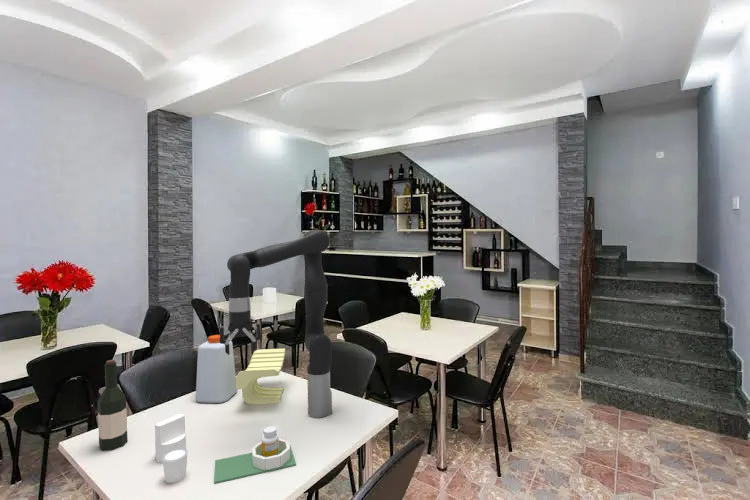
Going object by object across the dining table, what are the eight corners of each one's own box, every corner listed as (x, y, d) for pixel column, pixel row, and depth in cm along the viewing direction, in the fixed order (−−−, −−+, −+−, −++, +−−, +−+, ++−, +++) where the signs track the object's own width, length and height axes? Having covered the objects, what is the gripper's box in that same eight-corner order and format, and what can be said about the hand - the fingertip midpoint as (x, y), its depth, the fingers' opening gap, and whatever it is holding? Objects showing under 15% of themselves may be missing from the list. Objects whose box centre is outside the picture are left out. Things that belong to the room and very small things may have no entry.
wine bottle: (97, 453, 129) (93, 366, 128) (101, 442, 137) (98, 359, 136) (126, 447, 133) (123, 362, 132) (128, 436, 140) (126, 355, 139)
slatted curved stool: (252, 385, 187) (252, 349, 187) (285, 384, 189) (285, 348, 188) (236, 413, 158) (235, 371, 157) (275, 411, 159) (274, 369, 158)
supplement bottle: (263, 454, 127) (263, 425, 126) (280, 453, 127) (279, 424, 127) (260, 463, 121) (259, 433, 121) (277, 462, 122) (276, 433, 121)
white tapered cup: (177, 485, 112) (177, 462, 112) (157, 482, 113) (156, 459, 113) (193, 471, 119) (192, 449, 118) (174, 469, 120) (173, 447, 120)
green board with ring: (290, 446, 132) (290, 434, 132) (296, 465, 121) (295, 453, 121) (215, 461, 124) (215, 449, 123) (214, 483, 112) (213, 470, 112)
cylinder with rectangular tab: (165, 466, 122) (164, 429, 121) (150, 457, 127) (149, 422, 126) (191, 452, 129) (190, 417, 129) (176, 444, 134) (175, 411, 134)
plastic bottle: (240, 390, 181) (238, 332, 180) (224, 404, 166) (222, 341, 165) (210, 389, 183) (208, 332, 182) (191, 403, 168) (189, 340, 167)
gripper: (218, 312, 134) (219, 358, 135) (260, 309, 139) (261, 353, 140) (219, 309, 141) (220, 352, 142) (259, 306, 146) (260, 347, 147)
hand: (240, 352), depth 141 cm, fingers open, 8 cm apart
